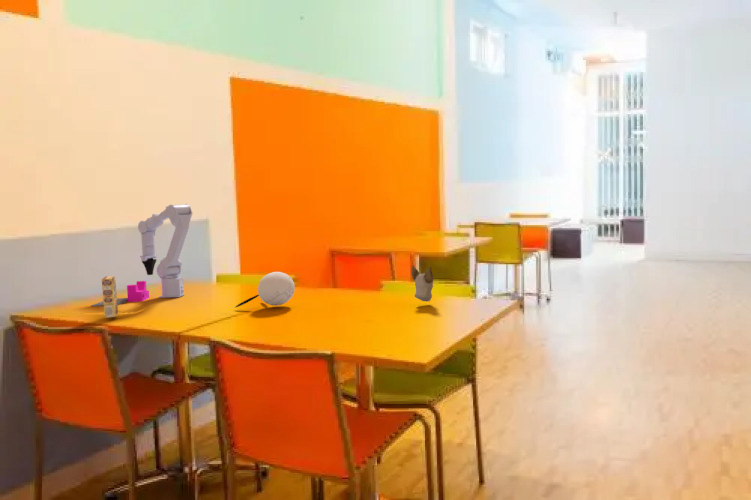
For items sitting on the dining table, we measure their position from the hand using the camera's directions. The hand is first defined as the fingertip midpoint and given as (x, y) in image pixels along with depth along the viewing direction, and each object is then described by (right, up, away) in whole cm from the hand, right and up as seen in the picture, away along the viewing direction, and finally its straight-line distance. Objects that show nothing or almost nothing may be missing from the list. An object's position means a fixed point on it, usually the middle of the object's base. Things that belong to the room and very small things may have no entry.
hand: (150, 274), depth 339 cm
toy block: (0, -11, -12) cm, 17 cm away
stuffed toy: (+73, 0, -50) cm, 88 cm away
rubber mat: (-10, -12, -21) cm, 26 cm away
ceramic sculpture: (+127, -10, -49) cm, 136 cm away
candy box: (+2, -14, -56) cm, 58 cm away
